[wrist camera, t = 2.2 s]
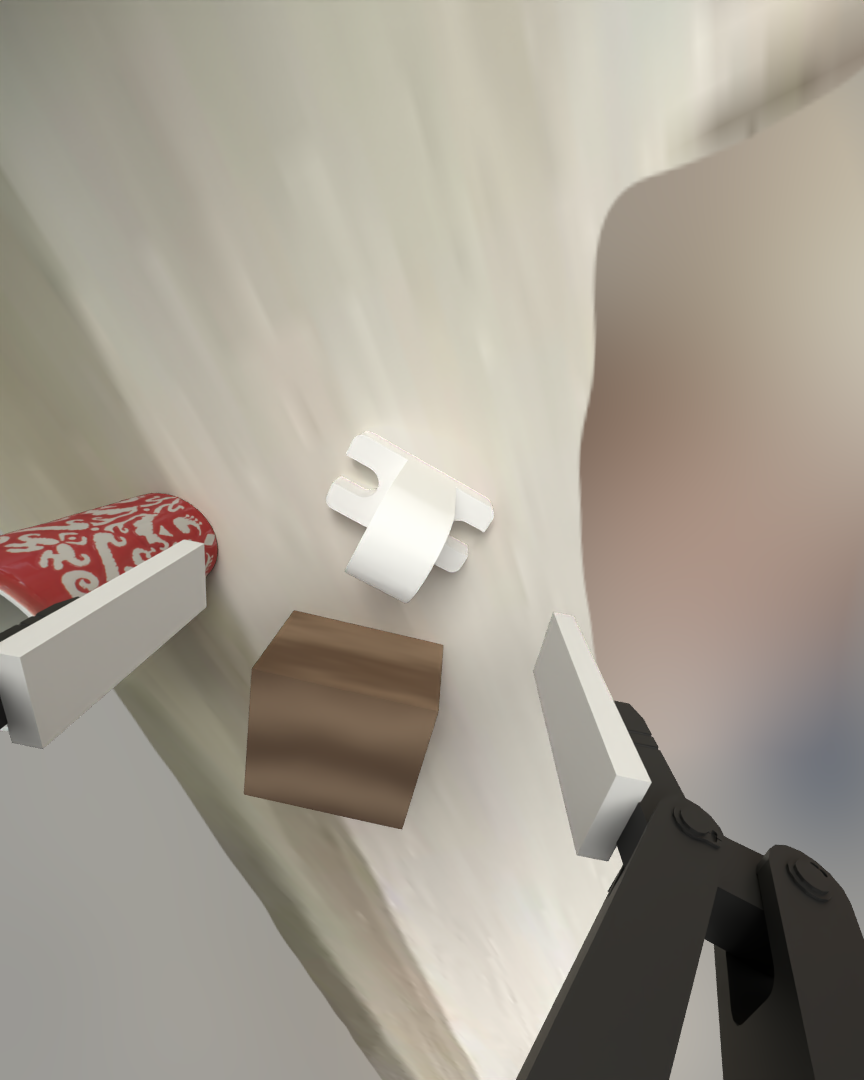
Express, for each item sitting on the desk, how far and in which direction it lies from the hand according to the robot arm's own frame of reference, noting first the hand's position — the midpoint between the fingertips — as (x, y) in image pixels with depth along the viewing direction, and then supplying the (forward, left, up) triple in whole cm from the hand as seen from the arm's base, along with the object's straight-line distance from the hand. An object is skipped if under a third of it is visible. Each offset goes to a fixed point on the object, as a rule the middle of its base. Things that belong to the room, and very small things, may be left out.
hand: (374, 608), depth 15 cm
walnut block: (+17, -2, -14) cm, 22 cm away
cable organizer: (0, 0, -14) cm, 14 cm away
